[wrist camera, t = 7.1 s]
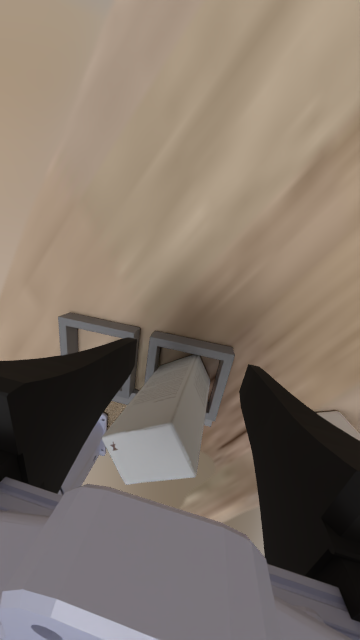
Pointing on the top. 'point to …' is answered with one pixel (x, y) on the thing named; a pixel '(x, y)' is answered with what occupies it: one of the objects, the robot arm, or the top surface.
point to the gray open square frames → (149, 354)
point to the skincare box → (162, 425)
